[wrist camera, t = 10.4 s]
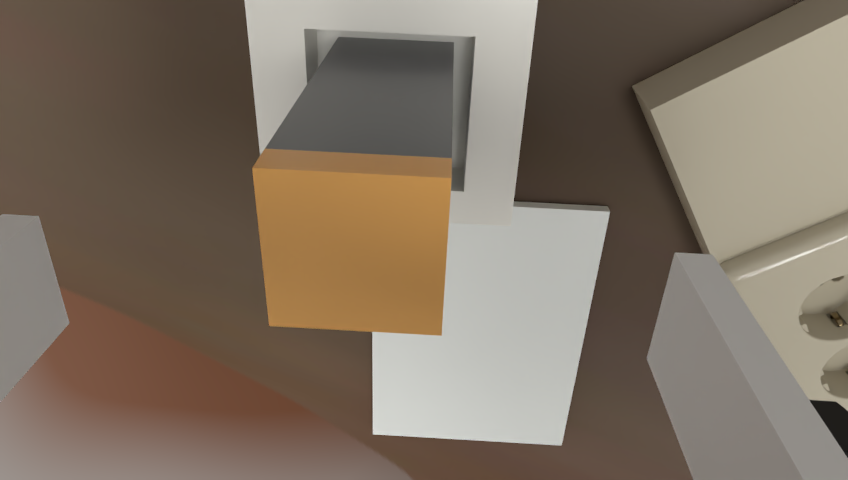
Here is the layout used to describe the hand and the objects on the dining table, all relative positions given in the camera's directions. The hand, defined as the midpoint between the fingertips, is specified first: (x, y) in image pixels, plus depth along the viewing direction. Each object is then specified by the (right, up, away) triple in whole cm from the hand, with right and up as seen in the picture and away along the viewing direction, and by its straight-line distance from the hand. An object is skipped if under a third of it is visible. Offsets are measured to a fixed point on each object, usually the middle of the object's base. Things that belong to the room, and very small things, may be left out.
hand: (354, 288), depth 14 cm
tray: (+4, -3, +17) cm, 18 cm away
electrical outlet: (+17, +2, +14) cm, 22 cm away
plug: (0, +6, +10) cm, 12 cm away
